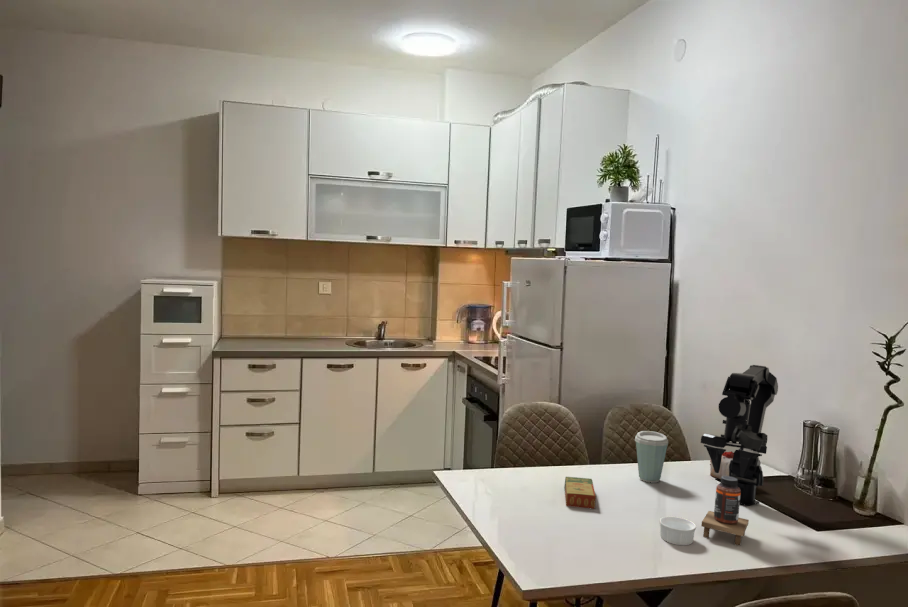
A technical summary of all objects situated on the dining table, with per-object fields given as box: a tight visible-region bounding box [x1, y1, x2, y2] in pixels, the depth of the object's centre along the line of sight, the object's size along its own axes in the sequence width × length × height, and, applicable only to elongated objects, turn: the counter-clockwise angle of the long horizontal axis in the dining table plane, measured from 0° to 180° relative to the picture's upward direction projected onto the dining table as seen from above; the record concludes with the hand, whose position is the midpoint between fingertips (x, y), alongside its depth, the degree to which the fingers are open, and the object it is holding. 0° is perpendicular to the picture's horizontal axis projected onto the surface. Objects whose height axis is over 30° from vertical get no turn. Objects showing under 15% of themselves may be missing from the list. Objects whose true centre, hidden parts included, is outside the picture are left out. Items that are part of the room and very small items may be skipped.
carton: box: [563, 476, 597, 510], centre depth 200 cm, size 8×16×4 cm, turn 172°
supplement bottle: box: [713, 476, 741, 524], centre depth 177 cm, size 6×6×11 cm
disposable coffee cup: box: [634, 430, 669, 484], centre depth 221 cm, size 11×11×15 cm
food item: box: [709, 451, 734, 480], centre depth 226 cm, size 14×8×10 cm, turn 19°
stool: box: [701, 510, 749, 546], centre depth 178 cm, size 10×10×4 cm
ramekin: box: [659, 516, 697, 546], centre depth 174 cm, size 9×9×4 cm
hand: (729, 474), depth 190 cm, fingers open, 9 cm apart
